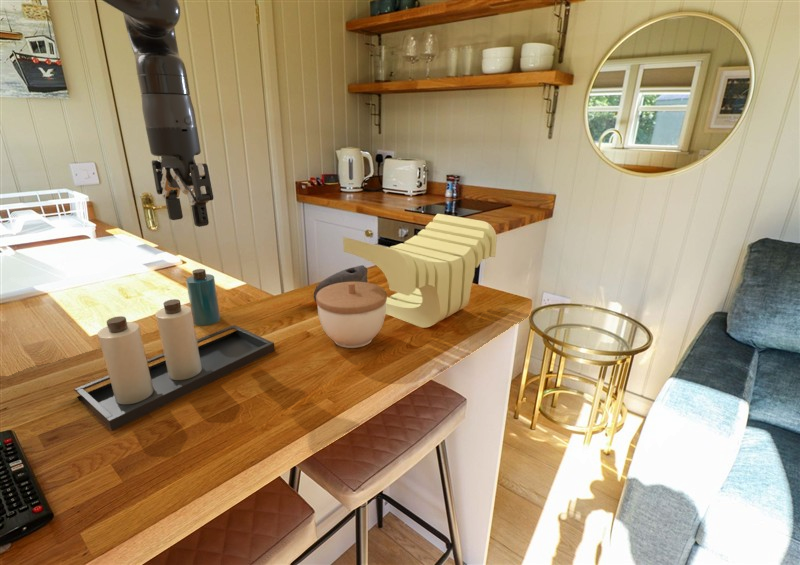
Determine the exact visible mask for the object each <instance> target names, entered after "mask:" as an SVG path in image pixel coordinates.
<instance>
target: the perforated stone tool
mask: <svg viewBox="0 0 800 565" xmlns="http://www.w3.org/2000/svg"><path fill="white" fill-rule="evenodd" d="M368 281H369V280H368V268H367V267H366V266H365V265H363V264H362V265H357V266H353V267H349V268H345V269H343V270H340V271H338V272H336V273H334V274H332V275H329V276H328V277H327V278H325V279H323V280H322V281H321V282H320V283H318V284H317V286H316V287H315V288H314V290H313V300H314V301H313V302H315V303H316V304H317V302H316V295H317V293H318V292H319V291H320V290H321V289H322V288H324V287H326V286H329V285H332V284H336V283H342V282H367V283H369V282H368Z"/></svg>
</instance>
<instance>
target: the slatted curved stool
mask: <svg viewBox="0 0 800 565" xmlns="http://www.w3.org/2000/svg"><path fill="white" fill-rule="evenodd" d="M497 240H498V238H497V232H496V230H495V229H494V227H493V226H492V225H491V223H489V222H487V221H485V220H480V219H479V220H478V219H473V218H468V217H461V216H455V215H448V214H442V213H437V214H436V215H435V216H433V218H432V221H430V222H428V223H427V225H425V228H422V229H420V231H418V232H417V234H415V235H414V236H412V237H410V238H409V239H407V240H405V241H404V242H403V243H401V242H400V243H398V244H395V245H391V246H389V247H388V246H381V245H377V244H374V243H369V242H366V241H361V240H357V239H353V238H350V237H345V236H343V237H342V243H343V252H344V253H348V254H351V255H353V256H356V257H359V258H361V259H364V260H365V261H367V262H370V263H371V264H373V265H374V266H377V268H379V270H380V271H381V272H382V273H383V275H384V276H385V278H386V281H387V285H388V288H389V291H392V292H395V293H394V294H391V295H390V296H387V301H386V313H385V315H387V316H390V317H393V318H395V319H397V320H400V321H403V322H406V323H408V324H411V325H414V326H416V327H418V328H422V329H424V328H430V327H432V326H434V325H436V324H438V323H439V322H441V321H443V320H445V319H446V318H448V317H450V316H452V315H453V314H455V313H458V312H459V311H460V310H463V309H464V308H466V307H467V306H468V305H469V303H470V297H471V291H472V286H473V282H474V279H475V272H476V269H477V268H479V266H480V265H481V263H482V262H483V260H486V259H488V258H496V251H497V242H498V241H497Z"/></svg>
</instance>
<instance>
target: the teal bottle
mask: <svg viewBox="0 0 800 565" xmlns="http://www.w3.org/2000/svg"><path fill="white" fill-rule="evenodd" d="M191 272H192V275H191V276H188V277H187V278H186V279H185V283H186V289H187V295H188V300H189V305H190V306H189V307H191V310H192V316H193V321H194V326H198V327H206V326H212V325H215V324H217V323H218V322H220V321H221V311H220V306H219V300H218V294H217V293H218V292H217V287H216V280H215V276H214V275H213V274H210V273H207V271H206V269H205V268H197V269H193V270H192V271H191Z"/></svg>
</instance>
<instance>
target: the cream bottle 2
mask: <svg viewBox="0 0 800 565" xmlns="http://www.w3.org/2000/svg"><path fill="white" fill-rule="evenodd" d="M162 303H163V308H160V309H159V310H157V311H156V312H155V314H154V316H155V319H156V324H157V330H158V334H159V337H160V338H159V339H160V343H161V348H162V352H163V353H164V357H163V358H164V361H165V362H166V367H167V372H168V376H169V378H171V379H173V380H184V379H189V378H192V377H194V376H196V375H197V374H199V373H200V372H201V370H202V365H201V360H200V354H199V349H198V346H199V342H198V343H197V340H198V338H197V334H196V328H195V327H196V326H195V324H194V321H193V316H192V310H191V307H190V306H189V305H185V304H181V300H180V299H177V298H176V299H175V298H173V299H169V300H165V301H164V302H162ZM163 353H162V354H163Z"/></svg>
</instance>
